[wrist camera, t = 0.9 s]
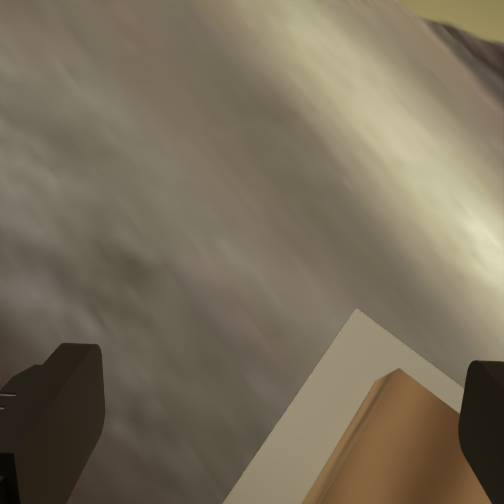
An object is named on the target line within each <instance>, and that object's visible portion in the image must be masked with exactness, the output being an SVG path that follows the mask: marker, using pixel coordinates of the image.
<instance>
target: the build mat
mask: <svg viewBox="0 0 504 504" xmlns="http://www.w3.org/2000/svg"><path fill="white" fill-rule="evenodd" d="M398 368H400V369H401V370H403V371H404V372H405V373H407V374H408V375H409V376H411V377H412V378H413V379H415V380H416V381H417V382H418V383H420V384H421V385H422V386H424V387H425V388H426V389H428V390H429V391H430V392H432V393H433V394H434V395H436V396H437V397H438V398H440V399H441V400H442V401H444V402H445V403H446V404H447V405H449V406H450V407H451V408H453V409H454V410H455V411H457V412H458V413H459V414H460V411H461V405H462V399H463V394H464V388H462V387H461V386H460V385H458V384H457V383H456V382H454V381H453V380H452V379H450V378H449V377H448V376H446V375H445V374H444V373H442V372H441V371H440V370H438V369H437V368H436V367H434V366H433V365H432V364H430V363H429V362H428V361H426V360H425V359H424V358H422V357H421V356H420V355H418V354H417V353H416V352H414V351H413V350H412V349H410V348H409V347H408V346H406V345H405V344H404V343H402V342H401V341H399V340H398V339H397V338H395V337H394V336H393V335H391V334H390V333H389V332H387V331H386V330H385V329H383V328H382V327H381V326H379V325H378V324H377V323H375V322H374V321H373V320H371V319H370V318H369V317H367V316H366V315H365V314H363V313H362V312H361V311H359V310H358V309H356V310H355V311H354V312H353V314H352V315H351V316H350V318H349V319H348V321H347V322H346V324H345V325H344V327H343V328H342V330H341V331H340V333H339V334H338V335H337V337H336V338H335V340H334V341H333V343H332V344H331V346H330V347H329V349H328V350H327V351H326V353H325V354H324V356H323V357H322V359H321V360H320V362H319V363H318V365H317V366H316V368H315V369H314V370H313V372H312V373H311V375H310V376H309V378H308V379H307V381H306V382H305V384H304V385H303V387H302V388H301V389H300V391H299V392H298V394H297V395H296V397H295V398H294V400H293V401H292V403H291V404H290V406H289V407H288V408H287V410H286V411H285V413H284V414H283V416H282V417H281V419H280V420H279V422H278V423H277V424H276V426H275V427H274V429H273V430H272V432H271V433H270V435H269V436H268V438H267V439H266V441H265V442H264V443H263V445H262V446H261V448H260V449H259V451H258V452H257V454H256V455H255V457H254V458H253V460H252V461H251V462H250V464H249V465H248V467H247V468H246V470H245V471H244V473H243V474H242V476H241V477H240V479H239V480H238V481H237V483H236V484H235V486H234V487H233V489H232V490H231V492H230V493H229V495H228V496H227V497H226V499H225V500H224V502H223V503H222V504H301V503H302V502H303V500H304V498H305V497H306V495H307V493H308V492H309V490H310V488H311V487H312V485H313V483H314V482H315V480H316V478H317V477H318V475H319V473H320V472H321V470H322V468H323V467H324V465H325V463H326V462H327V460H328V458H329V457H330V455H331V453H332V452H333V450H334V448H335V447H336V445H337V443H338V442H339V440H340V439H341V437H342V435H343V434H344V432H345V430H346V429H347V427H348V425H349V424H350V422H351V420H352V419H353V417H354V415H355V414H356V412H357V410H358V409H359V407H360V405H361V404H362V402H363V400H364V399H365V397H366V395H367V394H368V392H369V390H370V389H371V387H372V385H373V384H374V382H375V381H376V380H378V379H380V378H382V377H383V376H385V375H387V374H389V373H391V372H392V371H394V370H396V369H398Z"/></svg>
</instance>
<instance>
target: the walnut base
mask: <svg viewBox="0 0 504 504" xmlns="http://www.w3.org/2000/svg"><path fill="white" fill-rule="evenodd" d="M459 417H460V414H459V413H458V412H457V411H455V410H454V409H453V408H451V407H450V406H449V405H447V404H446V403H445V402H444V401H442V400H441V399H440V398H438V397H437V396H436V395H434V394H433V393H432V392H430V391H429V390H428V389H426V388H425V387H424V386H422V385H421V384H420V383H418V382H417V381H416V380H415V379H413V378H412V377H411V376H409V375H408V374H407V373H405V372H404V371H403V370H401V369H400V368H398V369H396V370H394V371H392V372H391V373H389V374H387V375H385V376H383V377H382V378H380V379H378V380H376V381H375V382H374V384H373V385H372V387H371V389H370V390H369V392H368V394H367V395H366V397H365V399H364V400H363V402H362V404H361V405H360V407H359V409H358V410H357V412H356V414H355V415H354V417H353V419H352V420H351V422H350V424H349V425H348V427H347V429H346V430H345V432H344V434H343V435H342V437H341V439H340V440H339V442H338V443H337V445H336V447H335V448H334V450H333V452H332V453H331V455H330V457H329V458H328V460H327V462H326V463H325V465H324V467H323V468H322V470H321V472H320V473H319V475H318V477H317V478H316V480H315V482H314V483H313V485H312V487H311V488H310V490H309V492H308V493H307V495H306V497H305V498H304V500H303V502H302V503H301V504H492V503H491V502H490V500H489V498H488V496H487V495H486V493H485V491H484V489H483V488H482V486H481V484H480V483H479V481H478V479H477V477H476V476H475V474H474V472H473V470H472V469H471V467H470V465H469V463H468V462H467V460H466V458H465V457H464V455H463V453H462V450H461V447H460V443H459V437H458V423H459Z"/></svg>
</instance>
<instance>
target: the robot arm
mask: <svg viewBox="0 0 504 504" xmlns="http://www.w3.org/2000/svg"><path fill="white" fill-rule="evenodd" d="M104 417H105V399H104V383H103V367H102V353H101V349H100V347H99V345H97V344H77V343H62V344H61V345H60V346H59V347H58V348H57V349H56V350H55V351H54V352H53V354H52V355H51V356H50V357H49V358H48V359H47V360H46V361H45V363H44V364H43V365H33V366H32V367H30V368H28V369H26V370H24V371H23V372H21V373H19V374H17V375H16V376H14V377H12V378H11V380H10V381H9V382H8V383H7V384H6V385H5V386H4V387H3V388H2V389H1V390H0V504H66V502H67V500H68V498H69V496H70V494H71V492H72V490H73V488H74V486H75V484H76V482H77V480H78V479H79V477H80V475H81V473H82V471H83V469H84V467H85V465H86V463H87V461H88V459H89V457H90V455H91V453H92V451H93V449H94V447H95V445H96V443H97V441H98V439H99V437H100V435H101V432H102V428H103V424H104ZM458 437H459V443H460V447H461V450H462V453H463V455H464V457H465V458H466V460H467V462H468V463H469V465H470V467H471V469H472V470H473V472H474V474H475V476H476V477H477V479H478V481H479V483H480V484H481V486H482V488H483V489H484V491H485V493H486V495H487V496H488V498H489V500H490V502H491V503H492V504H504V362H503V361H479V360H475V361H472V362H471V364H470V365H469V368H468V371H467V376H466V382H465V388H464V394H463V399H462V405H461V411H460V417H459V423H458Z"/></svg>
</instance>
